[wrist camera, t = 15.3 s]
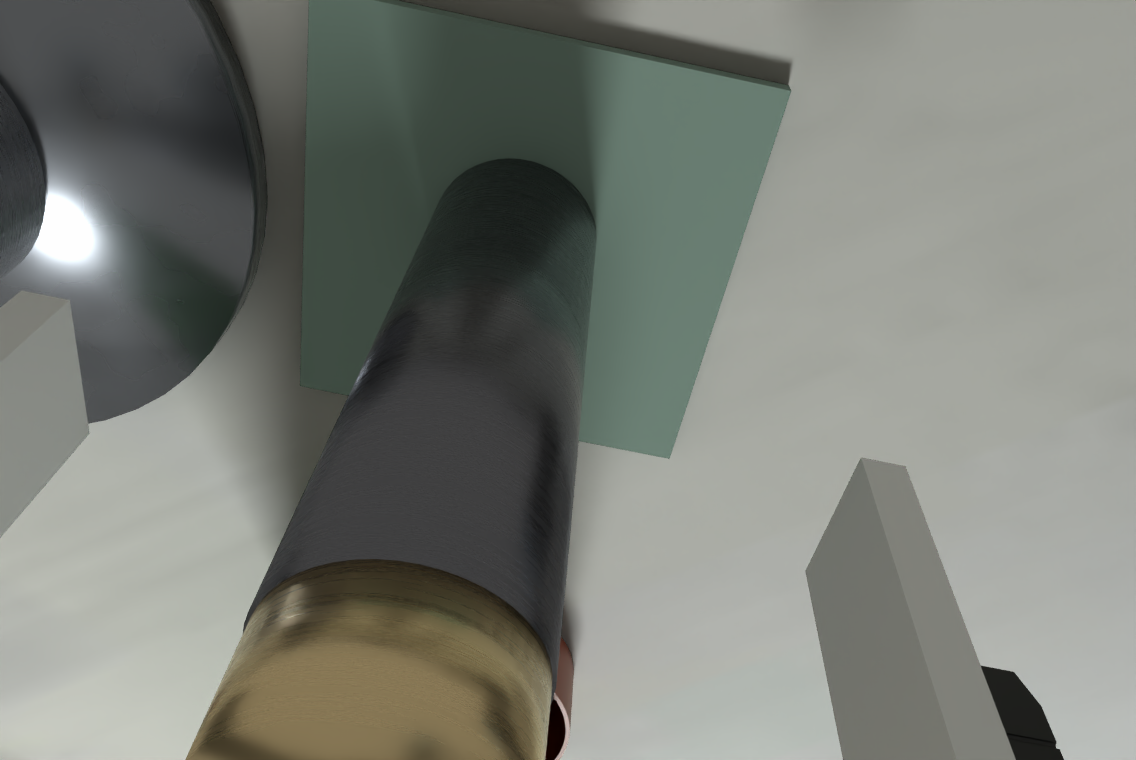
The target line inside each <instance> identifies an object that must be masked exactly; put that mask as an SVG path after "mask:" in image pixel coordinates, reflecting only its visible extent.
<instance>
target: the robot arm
mask: <svg viewBox="0 0 1136 760" xmlns="http://www.w3.org/2000/svg"><path fill="white" fill-rule="evenodd" d="M88 434H89V427H88V420H87V413H86V407H85V400H84V393H83V386H82V380H81V373H80V366H79V359H78V353H77V346H76V339H75V332H74V326H73V319H72V312H71V305H70V300H67V299H62V298H57V297H52V296H47V295H42V294H37V293H32V292H27V291H22V290H21V291H20V292H19V293H18V294H17V295H15V296H14V297H13V298H12V299H10V300H9V301H8V302H7V303H5V304H4V305H3V306H2V307H1V308H0V538H1V536H2V535H3V534H4V533H5V532H6V531H7V529H8V528H9V527H10V526H11V525H12V523H13V522H14V521H15V520H16V519H17V518H18V516H19V515H20V514H21V513H22V512H23V511H24V509H25V508H26V507H27V506H28V505H29V504H30V502H31V501H32V500H33V499H34V498H35V497H36V495H37V494H38V493H39V492H40V491H41V490H42V488H43V487H44V486H45V485H46V484H47V482H48V481H49V480H50V479H51V478H52V477H53V475H54V474H55V473H56V472H57V471H58V470H59V468H60V467H61V466H62V465H63V464H64V463H65V461H66V460H67V459H68V458H69V457H70V456H71V454H72V453H73V452H74V451H75V450H76V449H77V447H78V446H79V445H80V444H81V443H82V441H83V440H84V439H85V438H86V437H87V436H88ZM806 576H807V581H808V586H809V591H810V596H811V601H812V606H813V611H814V616H815V621H816V626H817V631H818V636H819V641H820V646H821V651H822V656H823V661H824V666H825V671H826V676H827V681H828V686H829V691H830V696H831V701H832V706H833V711H834V716H835V721H836V726H837V731H838V736H839V741H840V746H841V751H842V756H843V760H1064V759H1063V756H1062V754H1061V752H1060V749H1056V740H1055V737H1054V735H1053V733H1052V730H1051V728H1050V726H1049V723H1048V721H1047V719H1046V716H1045V714H1044V712H1043V709H1042V707H1041V705H1040V704H1039V703H1038V702H1037V700H1036V699H1035V698H1034V697H1033V695H1032V694H1031V693H1030V692H1029V690H1028V689H1027V688H1026V687H1025V685H1024V684H1023V683H1022V682H1021V680H1020V679H1019V678H1018V677H1017V675H1016V674H1015V673H1014V672H1011V671H1006V670H1001V669H995V668H990V667H985V666H980V663H979V660H978V658H977V655H976V652H975V650H974V647H973V644H972V642H971V639H970V636H969V634H968V631H967V629H966V626H965V623H964V621H963V618H962V615H961V613H960V610H959V607H958V605H957V602H956V599H955V597H954V594H953V591H952V589H951V586H950V583H949V581H948V578H947V575H946V573H945V570H944V567H943V565H942V562H941V559H940V557H939V554H938V551H937V549H936V546H935V543H934V541H933V538H932V536H931V533H930V530H929V528H928V525H927V522H926V520H925V517H924V514H923V512H922V509H921V506H920V504H919V501H918V498H917V496H916V493H915V490H914V488H913V485H912V482H911V480H910V477H909V474H908V472H907V469H906V466H901V465H896V464H891V463H886V462H881V461H876V460H871V459H866V458H861V459H860V461H859V463H858V465H857V467H856V469H855V471H854V473H853V475H852V477H851V479H850V481H849V483H848V485H847V487H846V489H845V492H844V494H843V496H842V498H841V500H840V502H839V504H838V506H837V508H836V510H835V512H834V514H833V516H832V518H831V520H830V522H829V524H828V526H827V528H826V530H825V532H824V534H823V536H822V538H821V540H820V543H819V545H818V547H817V549H816V551H815V553H814V555H813V557H812V559H811V561H810V563H809V565H808V567H807V569H806Z"/></svg>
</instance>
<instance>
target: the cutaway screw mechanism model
mask: <svg viewBox="0 0 1136 760" xmlns="http://www.w3.org/2000/svg"><path fill="white" fill-rule="evenodd" d="M573 675H574V668H573V661H572V657H571V654H570V651H569V649H568V647H567V645H566V643H565V641H564V640H563V638H562V637H561V640H560V651H559V662H558V673H557V684H556V690H555V694H554V698H553V700H552V703H551V705H550V714H549V725H548V735H547V746H546V756H545V760H560V758H561V757H562V755H563V754H564V752H565V750H566V748H567V745H568V741H569V736H570V722H571V707H572V691H573Z"/></svg>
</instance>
